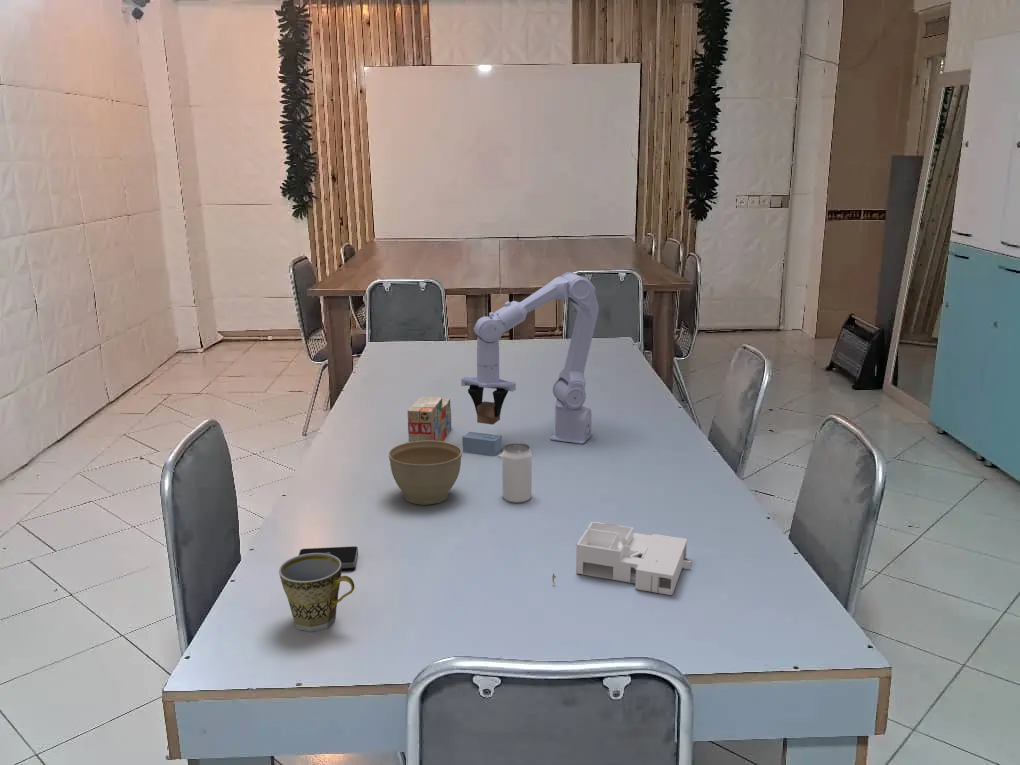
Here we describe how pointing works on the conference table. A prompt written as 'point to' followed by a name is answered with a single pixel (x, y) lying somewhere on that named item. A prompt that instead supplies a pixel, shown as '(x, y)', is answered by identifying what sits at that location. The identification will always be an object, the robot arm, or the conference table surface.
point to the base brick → (482, 443)
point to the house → (631, 557)
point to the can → (517, 473)
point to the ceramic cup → (313, 589)
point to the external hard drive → (338, 555)
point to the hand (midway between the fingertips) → (488, 414)
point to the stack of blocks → (429, 419)
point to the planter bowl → (425, 470)
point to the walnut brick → (486, 413)
